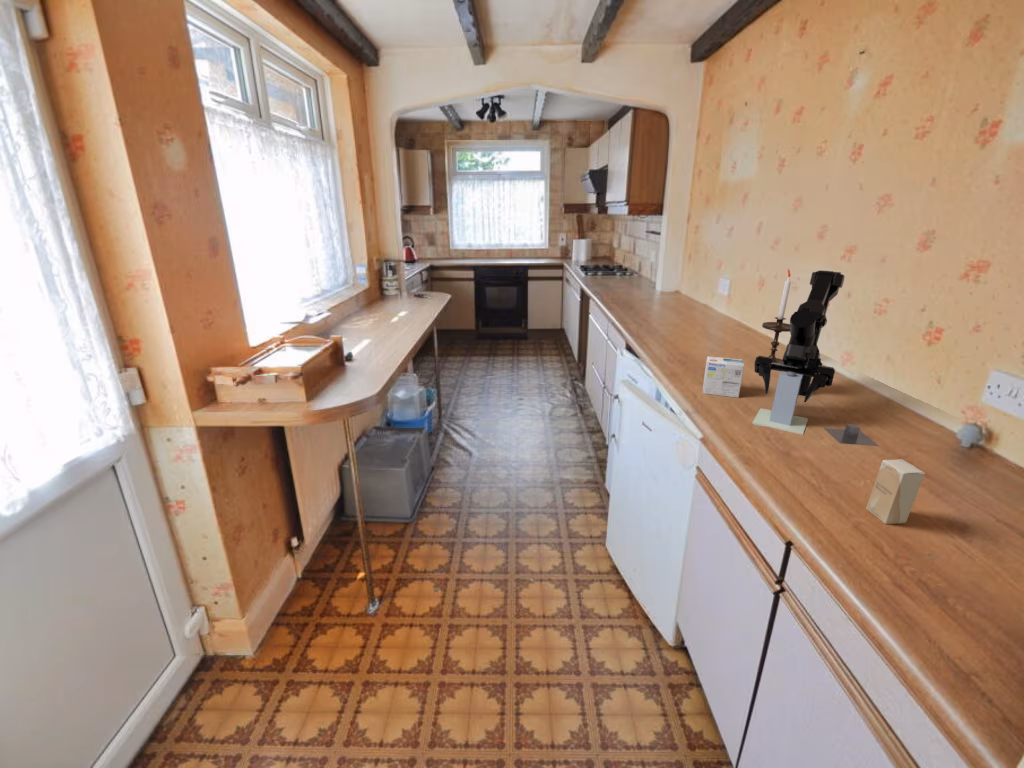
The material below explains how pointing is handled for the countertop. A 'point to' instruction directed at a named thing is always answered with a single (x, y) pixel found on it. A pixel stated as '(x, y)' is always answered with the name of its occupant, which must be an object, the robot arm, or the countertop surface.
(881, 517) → the box
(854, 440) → the grey square base plate
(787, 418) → the gray pillar with knob
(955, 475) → the countertop surface
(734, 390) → the light bulb box
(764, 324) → the candlestick
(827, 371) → the robot arm
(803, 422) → the mat
